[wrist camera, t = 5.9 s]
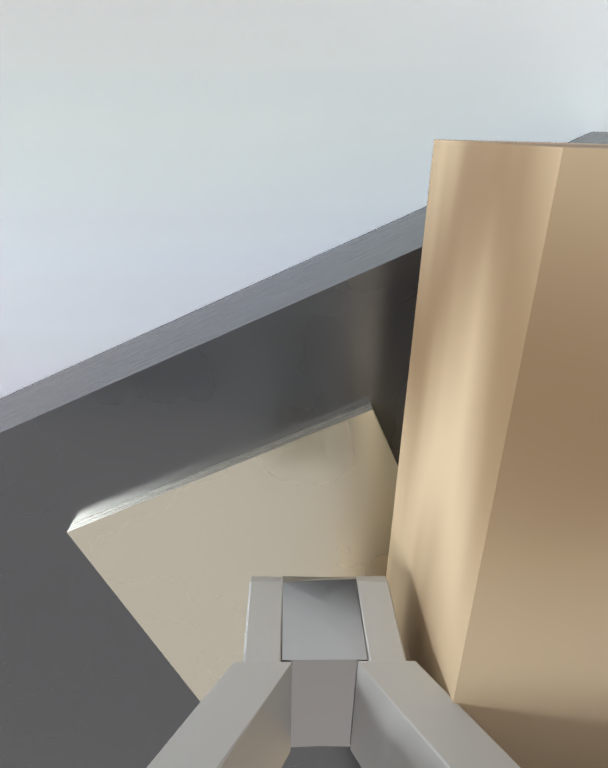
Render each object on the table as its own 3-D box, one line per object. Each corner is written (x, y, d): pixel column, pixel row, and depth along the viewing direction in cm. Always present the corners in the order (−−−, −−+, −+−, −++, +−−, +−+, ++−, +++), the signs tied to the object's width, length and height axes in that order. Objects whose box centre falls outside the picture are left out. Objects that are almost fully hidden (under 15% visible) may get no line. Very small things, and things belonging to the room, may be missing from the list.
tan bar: (514, 915, 17) (577, 1133, 13) (348, 919, 17) (365, 1141, 13) (781, 148, 8) (1195, 163, 4) (435, 139, 8) (564, 146, 4)
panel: (591, 131, 12) (733, 132, 8) (700, 663, 19) (805, 797, 15) (-151, 466, 15) (-302, 583, 11) (181, 820, 22) (159, 966, 18)
